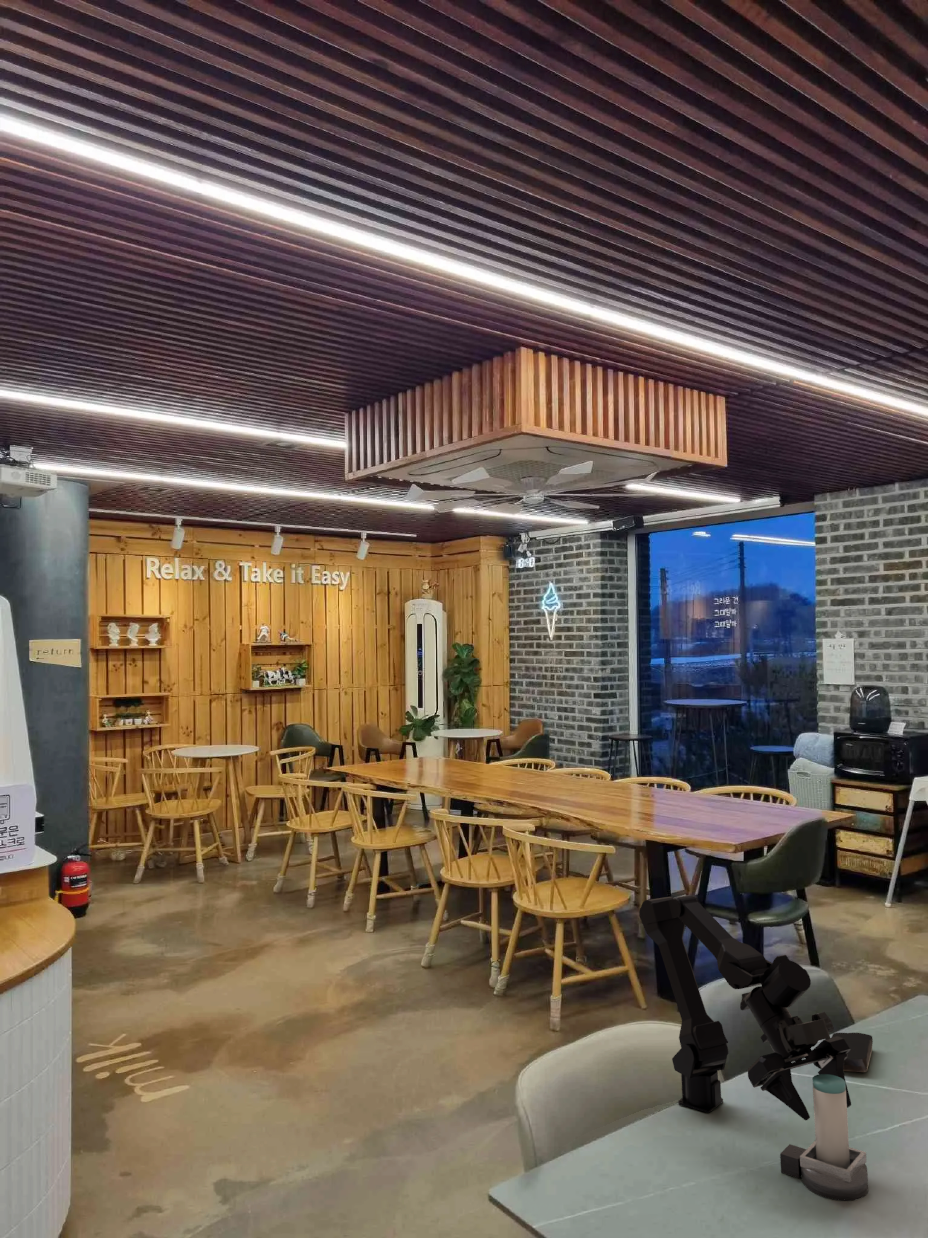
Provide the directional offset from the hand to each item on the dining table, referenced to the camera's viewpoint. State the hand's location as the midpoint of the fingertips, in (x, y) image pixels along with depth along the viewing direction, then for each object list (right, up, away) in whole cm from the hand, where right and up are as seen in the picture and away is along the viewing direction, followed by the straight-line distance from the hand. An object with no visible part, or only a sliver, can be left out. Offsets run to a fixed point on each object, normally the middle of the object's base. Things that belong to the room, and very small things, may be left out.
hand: (828, 1113), depth 149 cm
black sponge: (+23, -14, +47) cm, 54 cm away
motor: (-1, -11, 0) cm, 11 cm away
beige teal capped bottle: (0, -8, -1) cm, 8 cm away
